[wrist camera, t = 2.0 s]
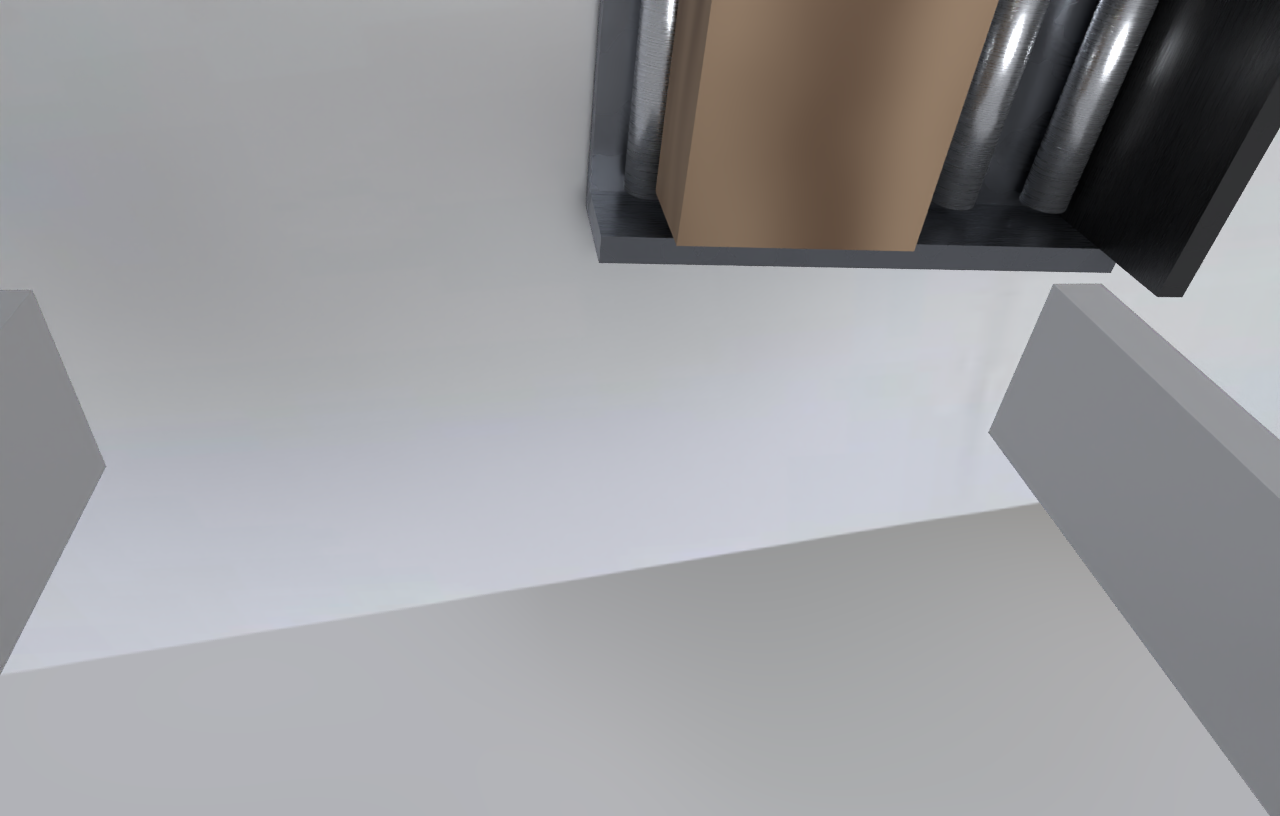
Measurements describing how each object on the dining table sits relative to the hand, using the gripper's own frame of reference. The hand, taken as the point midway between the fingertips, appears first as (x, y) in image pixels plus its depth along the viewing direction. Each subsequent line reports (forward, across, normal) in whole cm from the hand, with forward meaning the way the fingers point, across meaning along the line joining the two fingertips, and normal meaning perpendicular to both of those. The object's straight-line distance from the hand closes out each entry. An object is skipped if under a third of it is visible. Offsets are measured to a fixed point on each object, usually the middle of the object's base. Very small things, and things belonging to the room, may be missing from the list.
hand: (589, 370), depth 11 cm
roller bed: (+21, +12, -1) cm, 24 cm away
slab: (+18, +8, -1) cm, 20 cm away
